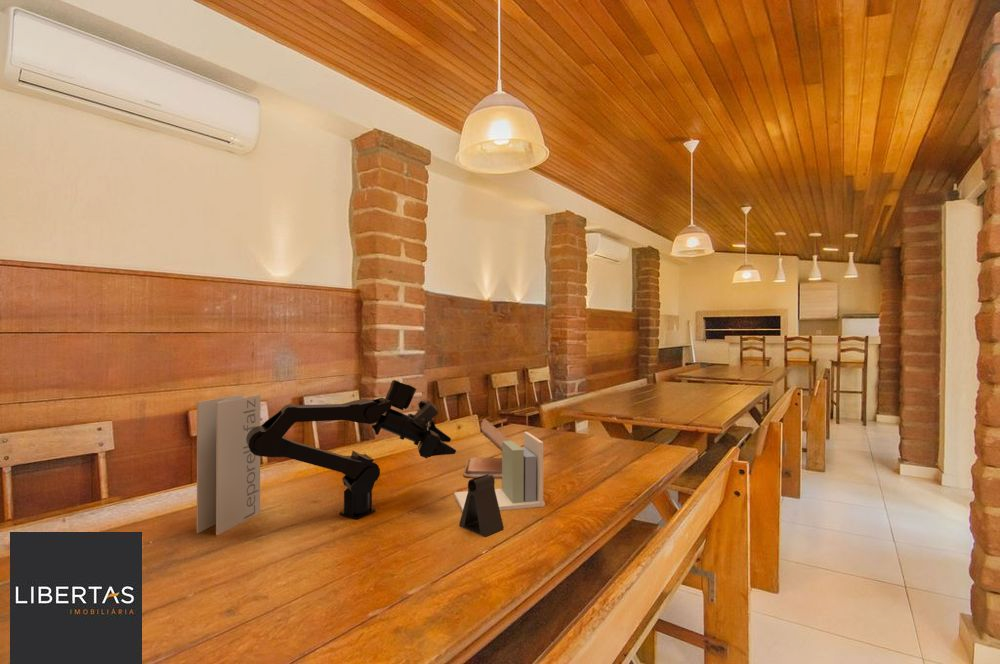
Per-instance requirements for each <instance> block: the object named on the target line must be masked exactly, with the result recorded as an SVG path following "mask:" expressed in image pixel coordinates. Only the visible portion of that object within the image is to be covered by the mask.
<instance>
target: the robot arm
mask: <svg viewBox="0 0 1000 664" xmlns="http://www.w3.org/2000/svg"><path fill="white" fill-rule="evenodd" d="M416 391H417V388H416V387H414V386H412V385H410V384H406V383H403V382H401V381H398V380H396V379H395V380H394V379H392V380H391V383H390V386H389V389H388V391H387V393H386V396H385V397H378V398H374V399H370V398H360V399H356V400H351V401H348V402H345V403H331V404H330V403H329V404H327V403H326V404H325V403H324V404H285V405H284V406H283V407H282V408H281V409H279V411H278V412H276V413H275V414H274V415H273V416H271V417H269V419H267V420H265V422H263V423H262V424H260V426H257V427H255V428H253V429H252V430H250V431H249V433H248V434H247V437H246V443H247V445H248V447H249V449H250V451H251V452H252V453H253V454H254V455H256V456H260V457H264V458H287V459H291V460H295V461H299V462H302V463H306V464H308V465H314V466H317V467H320V468H322V469H323V468H324V469H327V470H331V471H334V472H338V473H341V474H343V477H342V478H341V481H342V483H343V486H344V487H346V489H345V490H344V491H343V510H341V511H339V515H341V516H344V517H346V518H347V517H348V518H352V519H356V520H358V519H361V518H363V517H366V516H368V515H370V514H372V513H375V512H376V508H372V507H373V502H372V501H373V489H374V486H375V484H376V482H377V480H378V479H379V477H380V475H381V469H380V466H379V464H377V463H376V462H374V461H375V459H373V458H372V457H371V456H370V455H368V454H366V453H364V454H363V453H359V452H357V451H354V450H352V451H351V455H344V454H339V453H336V452H332V451H329V450H325V449H322V448H320V447H315V446H312V445H308V444H305V443H302V442H298V441H295V440H292V439H289V438H288V437H286V436H285V435H286V434H287V433H288V432H289V430H290V429H291V428H292V426H293V425H295V424H296V423H300V422H303V423H305V422H327V421H328V422H330V421H331V422H332V421H349V422H352V423H353V422H354V423H359V424H365V425H366V424H367V425H370V426H371V428H372V430H373V433H374V434H375V435H376V436H378V435H379V434H380V431H381V429H382V430H383V431H386V432H389V433H391V434H393V435H396V436H399V439H400V440H402V441H404V440H408V441H410V442H413V445H415V446H416V447H417V450H418V453H419V455H420V457H422V458H425V459H428V458H431V457H436V456H445V455H446V456H447V455H448V456H449V455H455V454H456V452H457V450H456V448H454V447H452V445H451V446H450V445H449V444H448V443H450V442H451V441H452V438H451V437H450V436H449V435H448V434H446V433H444V432H443V431H442V430H441V429H439V427H437V426H436V423H435V422H434V417H437V415H438V414H439V409H438V408H437V407H436V406H435V405H434V404H433V402H432V401H430V400H427V401H426V400H420V402H418V403H417V404H418V409H417V411H416V413H408V414H405V413H403V412H401V411H404V410H407V409H409V407H410V404H411V403H412V401H413V398H414V396H415V394H416ZM392 407H394V408H396V409H397V410H401V411H397V410H396V409H393V408H392Z"/></svg>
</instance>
